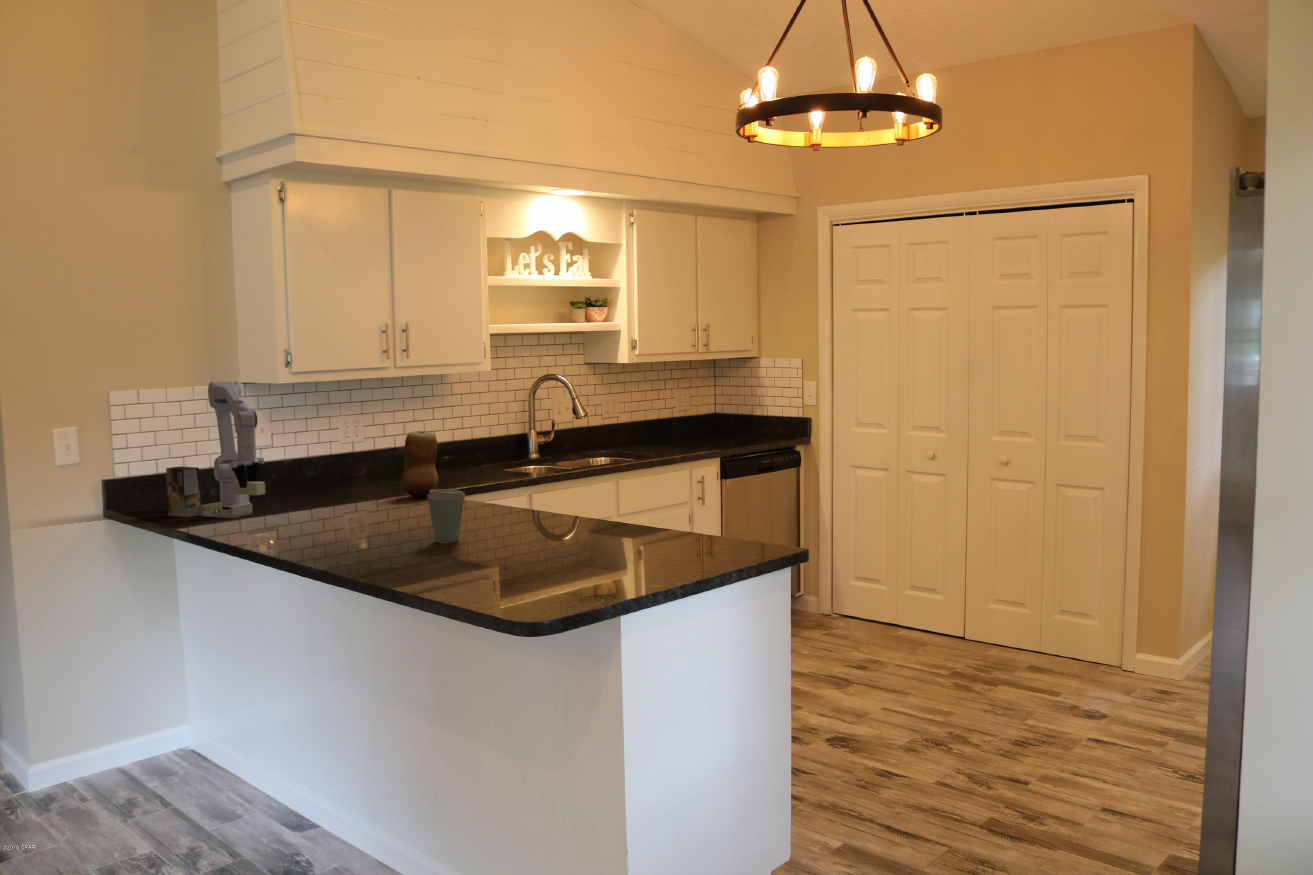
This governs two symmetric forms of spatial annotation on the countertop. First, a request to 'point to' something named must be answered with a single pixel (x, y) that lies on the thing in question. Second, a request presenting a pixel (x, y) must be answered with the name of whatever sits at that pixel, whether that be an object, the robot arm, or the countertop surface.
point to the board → (249, 488)
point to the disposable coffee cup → (446, 514)
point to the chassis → (217, 511)
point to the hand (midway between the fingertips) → (247, 486)
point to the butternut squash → (420, 464)
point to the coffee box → (183, 491)
